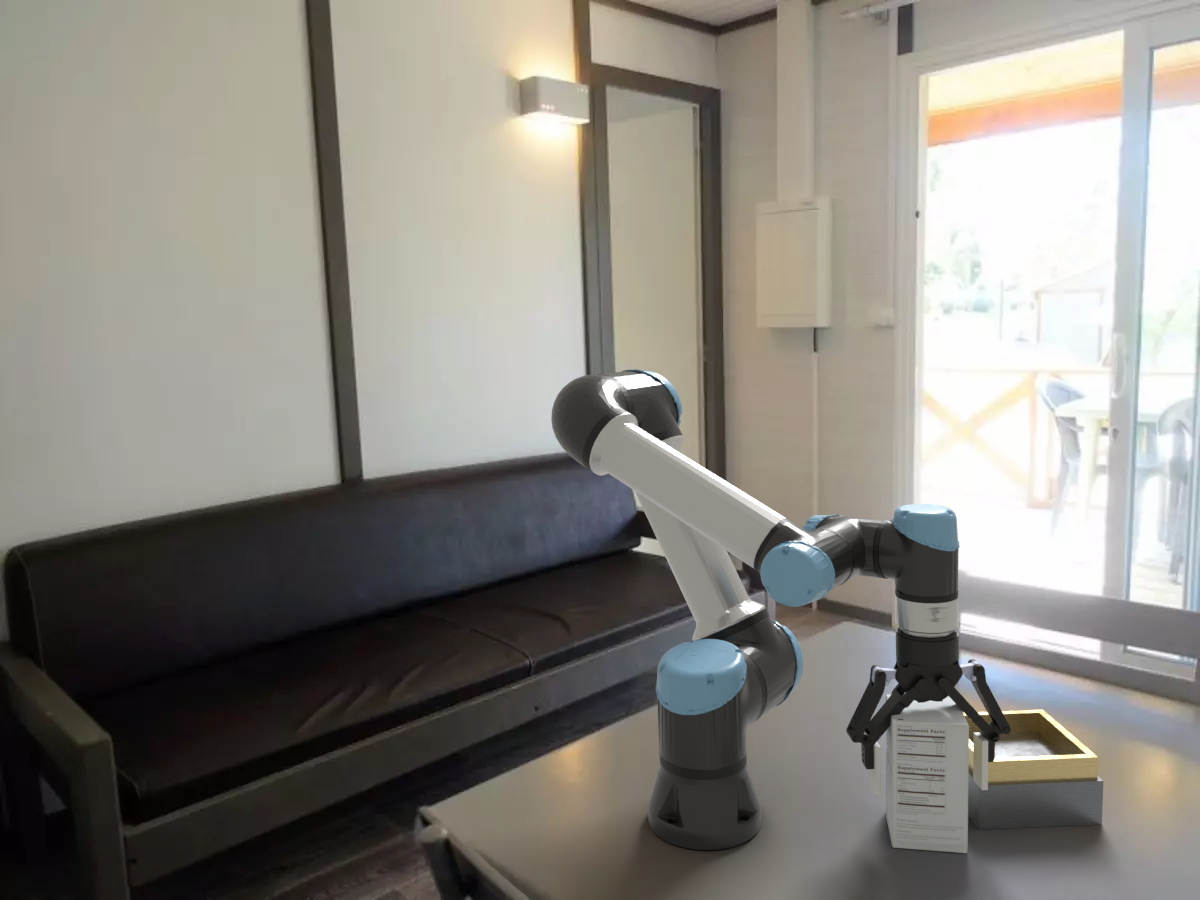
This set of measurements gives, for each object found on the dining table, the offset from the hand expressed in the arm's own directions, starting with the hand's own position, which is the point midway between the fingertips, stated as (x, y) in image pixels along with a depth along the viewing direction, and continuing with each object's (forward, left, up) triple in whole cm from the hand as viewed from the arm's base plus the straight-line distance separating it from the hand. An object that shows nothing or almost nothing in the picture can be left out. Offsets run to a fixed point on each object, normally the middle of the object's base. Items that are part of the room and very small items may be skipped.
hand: (928, 788), depth 120 cm
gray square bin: (+15, +8, -6) cm, 18 cm away
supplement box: (0, 0, -6) cm, 6 cm away
